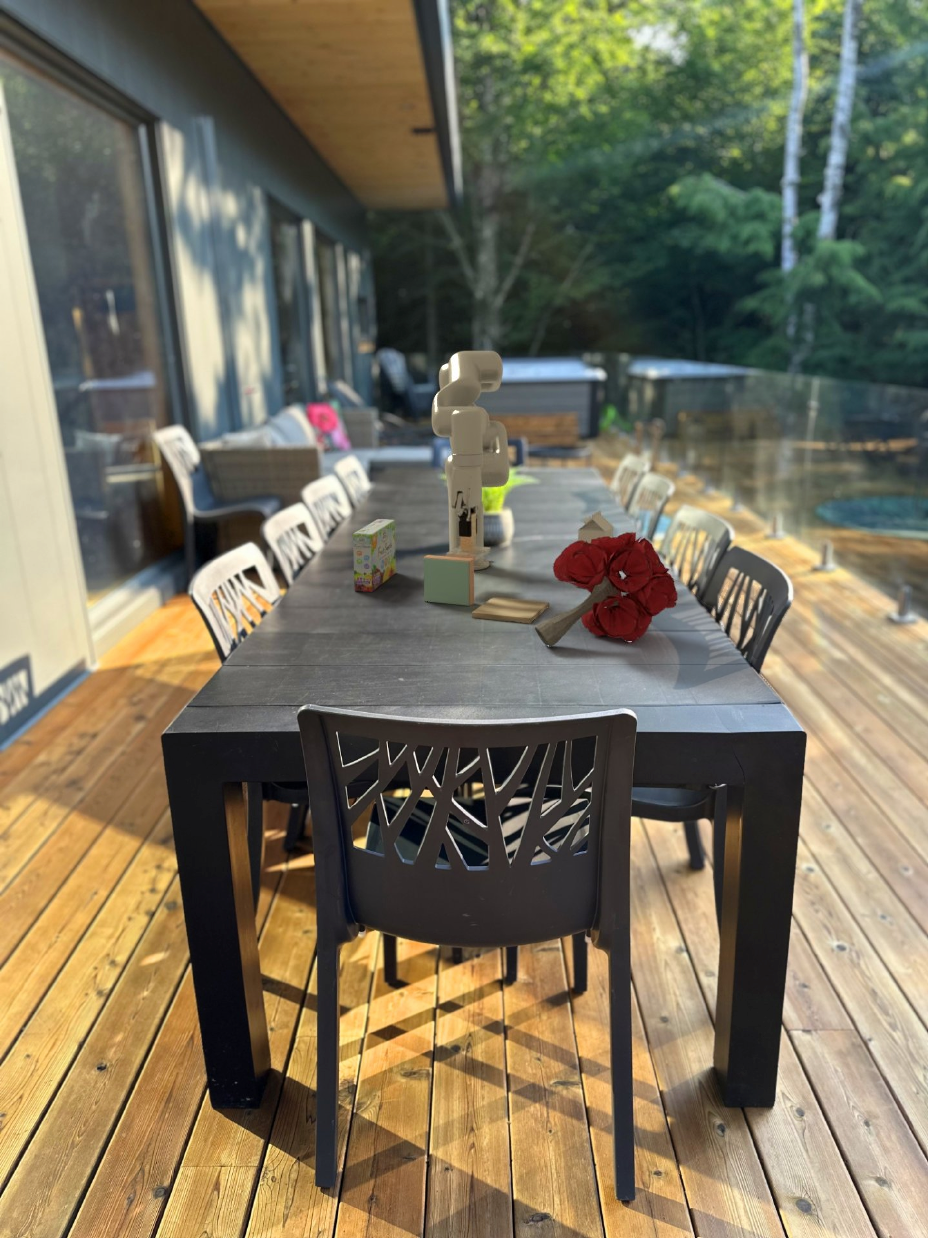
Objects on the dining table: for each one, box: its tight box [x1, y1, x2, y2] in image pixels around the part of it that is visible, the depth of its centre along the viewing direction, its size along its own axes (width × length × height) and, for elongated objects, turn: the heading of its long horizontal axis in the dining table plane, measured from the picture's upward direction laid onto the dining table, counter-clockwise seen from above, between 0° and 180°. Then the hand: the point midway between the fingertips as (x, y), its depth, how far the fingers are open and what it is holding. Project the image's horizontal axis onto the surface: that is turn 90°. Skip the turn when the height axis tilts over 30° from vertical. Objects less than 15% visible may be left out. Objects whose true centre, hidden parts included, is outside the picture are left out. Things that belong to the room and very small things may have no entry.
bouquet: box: [534, 531, 678, 648], centre depth 185 cm, size 22×24×30 cm
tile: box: [422, 554, 475, 607], centre depth 217 cm, size 3×12×11 cm, turn 68°
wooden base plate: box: [471, 596, 550, 624], centre depth 210 cm, size 14×14×1 cm
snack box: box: [352, 518, 397, 593], centre depth 237 cm, size 21×6×15 cm, turn 168°
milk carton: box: [577, 509, 614, 543], centre depth 229 cm, size 7×7×19 cm
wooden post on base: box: [445, 512, 491, 560], centre depth 226 cm, size 10×8×10 cm
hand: (468, 534), depth 226 cm, fingers closed on wooden post on base, 3 cm apart
